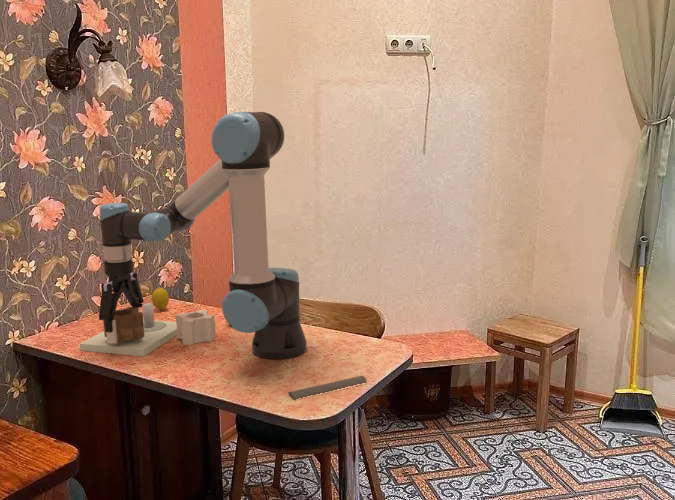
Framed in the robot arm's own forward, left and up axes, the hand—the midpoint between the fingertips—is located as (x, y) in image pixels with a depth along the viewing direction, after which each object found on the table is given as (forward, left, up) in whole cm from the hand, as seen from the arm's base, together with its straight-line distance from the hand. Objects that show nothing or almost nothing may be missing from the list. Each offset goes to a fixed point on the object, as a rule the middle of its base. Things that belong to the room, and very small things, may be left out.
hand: (124, 335), depth 187 cm
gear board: (+1, -7, -4) cm, 8 cm away
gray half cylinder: (-64, +13, -4) cm, 65 cm away
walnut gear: (0, 0, 0) cm, 0 cm away
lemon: (+9, -35, -4) cm, 36 cm away
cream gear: (-16, -12, -4) cm, 20 cm away
